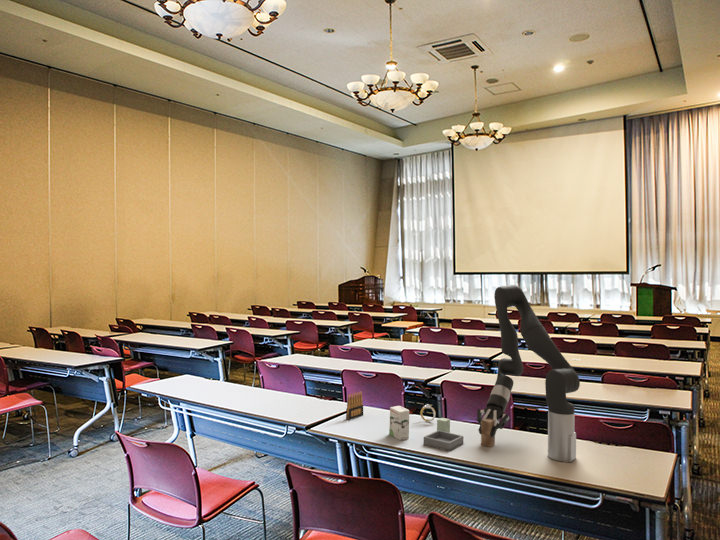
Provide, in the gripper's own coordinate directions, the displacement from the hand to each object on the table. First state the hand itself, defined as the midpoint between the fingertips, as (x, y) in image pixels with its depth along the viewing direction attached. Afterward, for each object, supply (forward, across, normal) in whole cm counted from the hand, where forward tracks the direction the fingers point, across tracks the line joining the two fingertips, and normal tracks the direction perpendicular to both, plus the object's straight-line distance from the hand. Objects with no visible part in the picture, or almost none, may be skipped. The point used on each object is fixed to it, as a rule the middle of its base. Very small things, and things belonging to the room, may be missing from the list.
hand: (485, 434), depth 200 cm
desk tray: (+10, -14, -3) cm, 17 cm away
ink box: (+13, -33, -6) cm, 36 cm away
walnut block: (+2, 0, +5) cm, 5 cm away
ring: (-6, -35, +12) cm, 38 cm away
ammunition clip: (+6, -65, +1) cm, 65 cm away
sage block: (+1, -21, +5) cm, 22 cm away
